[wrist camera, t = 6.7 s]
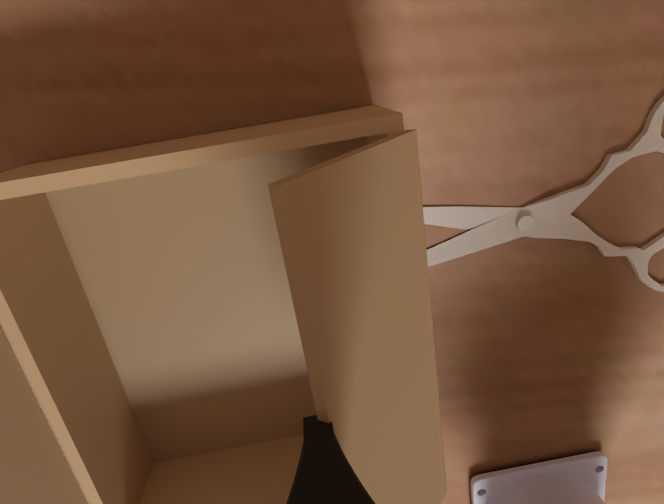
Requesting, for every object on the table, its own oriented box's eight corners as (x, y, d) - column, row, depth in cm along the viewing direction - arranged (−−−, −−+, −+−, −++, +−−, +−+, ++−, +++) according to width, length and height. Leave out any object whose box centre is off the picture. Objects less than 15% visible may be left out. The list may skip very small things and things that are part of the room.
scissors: (733, 280, 23) (342, 356, 22) (719, 274, 23) (340, 348, 23) (774, 52, 19) (302, 137, 18) (756, 53, 20) (301, 134, 19)
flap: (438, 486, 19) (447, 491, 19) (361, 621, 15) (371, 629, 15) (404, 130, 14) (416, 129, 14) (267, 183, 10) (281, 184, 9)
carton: (409, 414, 24) (438, 494, 19) (149, 464, 24) (115, 558, 19) (373, 104, 18) (402, 113, 14) (27, 163, 18) (-65, 193, 13)
